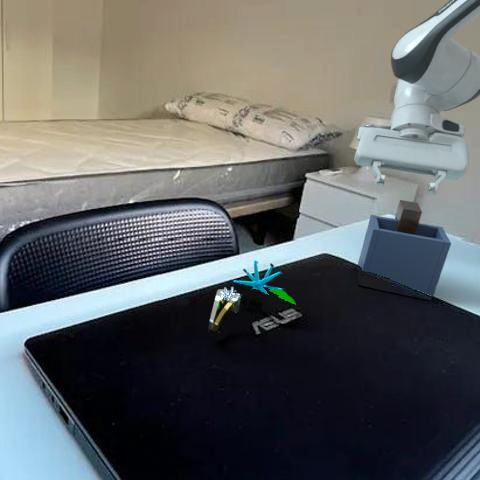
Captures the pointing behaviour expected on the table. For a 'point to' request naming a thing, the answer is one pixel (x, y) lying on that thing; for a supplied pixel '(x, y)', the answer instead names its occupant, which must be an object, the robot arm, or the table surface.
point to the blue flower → (260, 284)
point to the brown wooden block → (408, 217)
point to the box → (405, 253)
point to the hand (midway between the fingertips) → (405, 188)
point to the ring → (232, 302)
